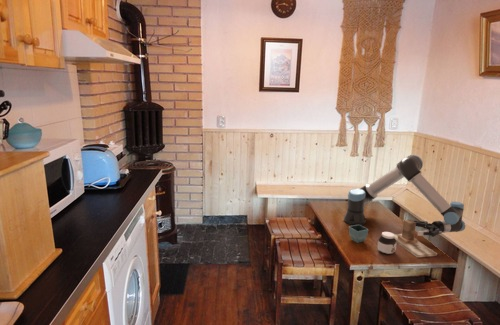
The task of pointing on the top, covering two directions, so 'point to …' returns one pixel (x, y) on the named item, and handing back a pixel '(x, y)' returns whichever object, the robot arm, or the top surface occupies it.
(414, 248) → the plywood board
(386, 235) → the spread jar
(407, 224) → the block
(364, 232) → the flower pot
